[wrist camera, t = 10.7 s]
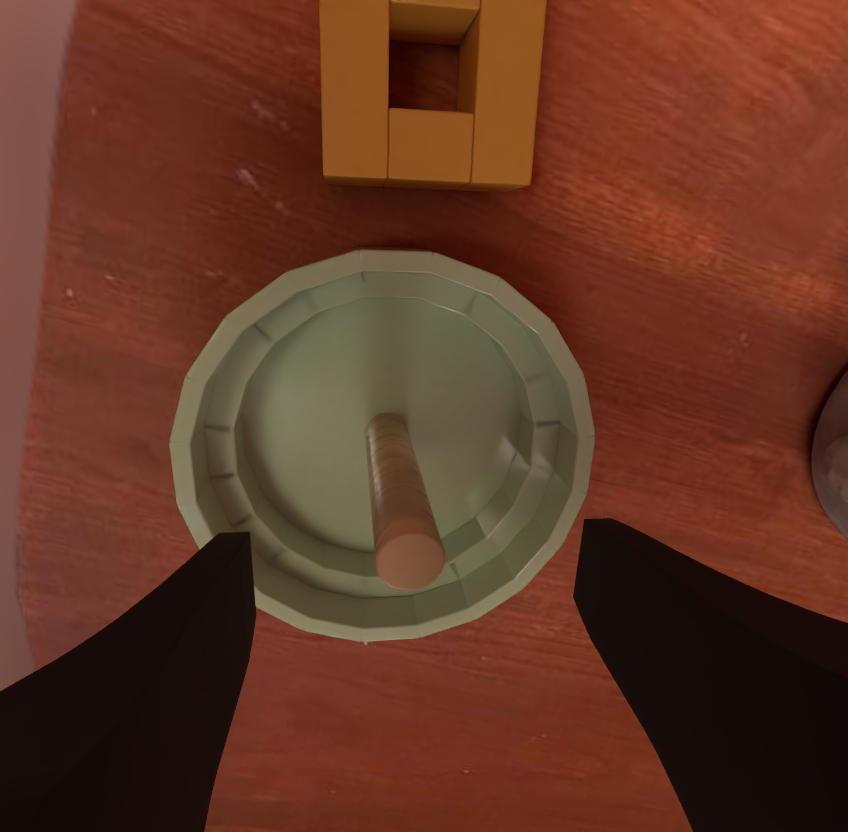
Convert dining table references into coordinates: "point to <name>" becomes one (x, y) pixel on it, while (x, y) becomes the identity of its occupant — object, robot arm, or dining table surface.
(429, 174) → the stand
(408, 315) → the bowl
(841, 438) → the dish
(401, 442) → the stick
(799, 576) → the dining table surface
